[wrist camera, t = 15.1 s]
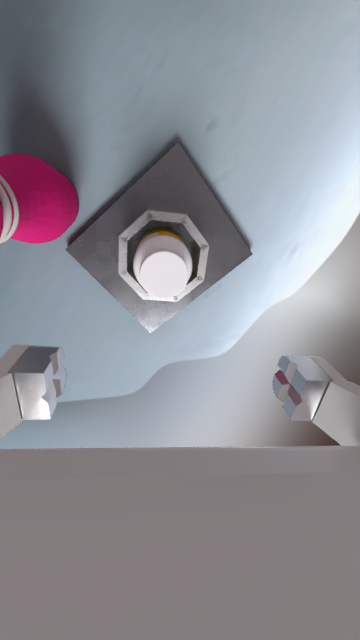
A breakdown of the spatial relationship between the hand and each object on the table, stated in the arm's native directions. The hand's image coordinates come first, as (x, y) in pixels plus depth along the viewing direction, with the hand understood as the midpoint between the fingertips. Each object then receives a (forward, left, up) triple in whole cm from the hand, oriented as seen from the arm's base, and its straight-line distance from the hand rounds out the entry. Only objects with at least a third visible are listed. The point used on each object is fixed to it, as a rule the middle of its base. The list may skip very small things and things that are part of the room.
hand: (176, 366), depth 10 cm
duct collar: (0, 0, -23) cm, 23 cm away
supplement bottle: (0, 0, -22) cm, 22 cm away
